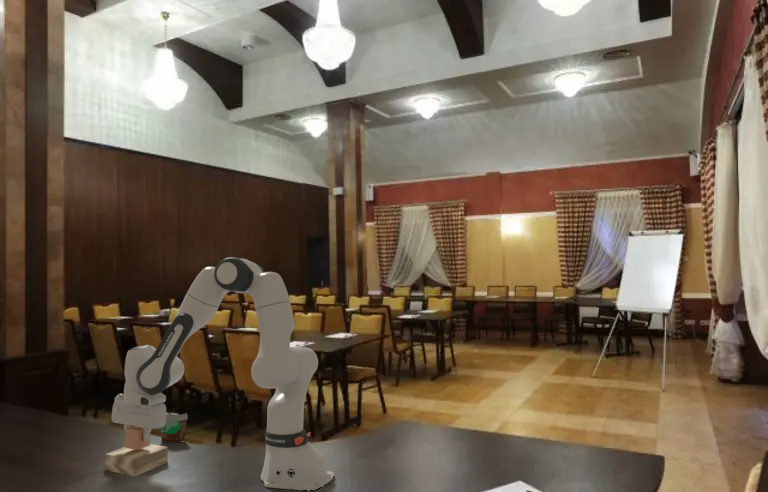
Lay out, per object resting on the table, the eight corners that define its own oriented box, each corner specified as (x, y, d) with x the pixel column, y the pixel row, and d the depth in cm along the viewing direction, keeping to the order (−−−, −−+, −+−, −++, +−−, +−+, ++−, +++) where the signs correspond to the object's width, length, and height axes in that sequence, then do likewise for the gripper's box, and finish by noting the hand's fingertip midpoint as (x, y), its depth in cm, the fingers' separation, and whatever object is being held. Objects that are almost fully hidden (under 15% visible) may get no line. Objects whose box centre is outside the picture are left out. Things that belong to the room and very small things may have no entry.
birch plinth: (167, 462, 176) (167, 447, 176) (135, 476, 164) (135, 459, 164) (137, 456, 180) (138, 441, 181) (104, 470, 168) (105, 453, 169)
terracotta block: (149, 445, 174) (150, 426, 174) (137, 449, 169) (137, 430, 169) (138, 443, 176) (138, 424, 176) (125, 447, 171) (125, 428, 171)
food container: (150, 440, 198) (151, 412, 199) (164, 435, 204) (165, 409, 204) (173, 445, 192) (174, 417, 193) (187, 440, 198) (188, 413, 198)
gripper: (107, 395, 174) (105, 438, 173) (154, 401, 166) (153, 446, 166) (123, 391, 180) (122, 432, 179) (170, 396, 172) (169, 440, 171)
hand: (137, 439), depth 172 cm, fingers closed on terracotta block, 5 cm apart
